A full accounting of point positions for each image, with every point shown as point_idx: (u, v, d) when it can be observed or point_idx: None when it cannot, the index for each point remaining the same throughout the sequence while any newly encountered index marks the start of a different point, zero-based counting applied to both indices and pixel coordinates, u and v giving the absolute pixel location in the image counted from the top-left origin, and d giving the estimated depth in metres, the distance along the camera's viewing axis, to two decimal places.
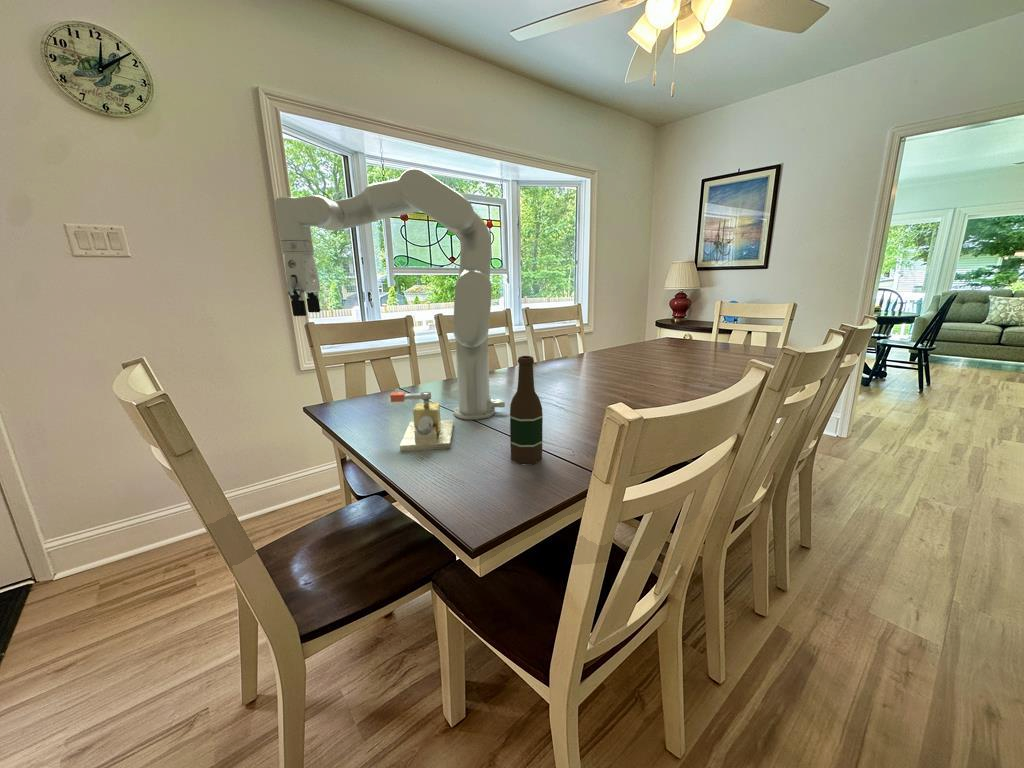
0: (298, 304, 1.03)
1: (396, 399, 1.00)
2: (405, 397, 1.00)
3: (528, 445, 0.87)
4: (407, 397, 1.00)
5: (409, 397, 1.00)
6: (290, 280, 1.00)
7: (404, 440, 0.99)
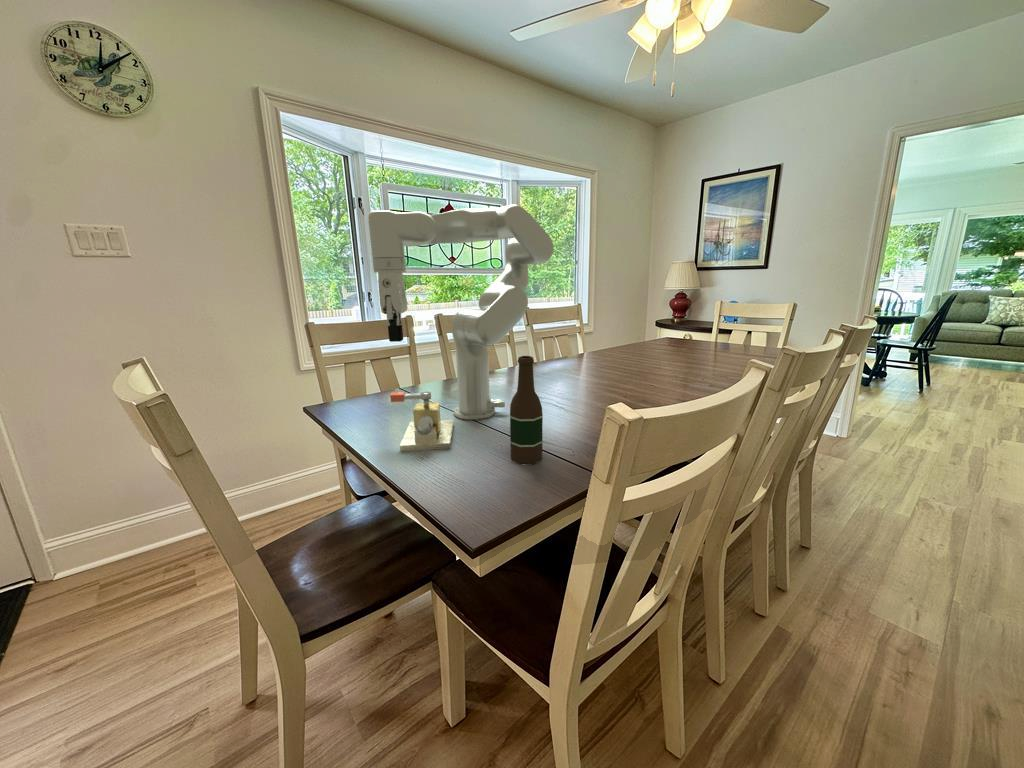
0: (395, 329, 0.99)
1: (396, 399, 1.00)
2: (405, 397, 1.00)
3: (528, 445, 0.87)
4: (407, 397, 1.00)
5: (409, 397, 1.00)
6: (389, 310, 0.94)
7: (404, 440, 0.99)
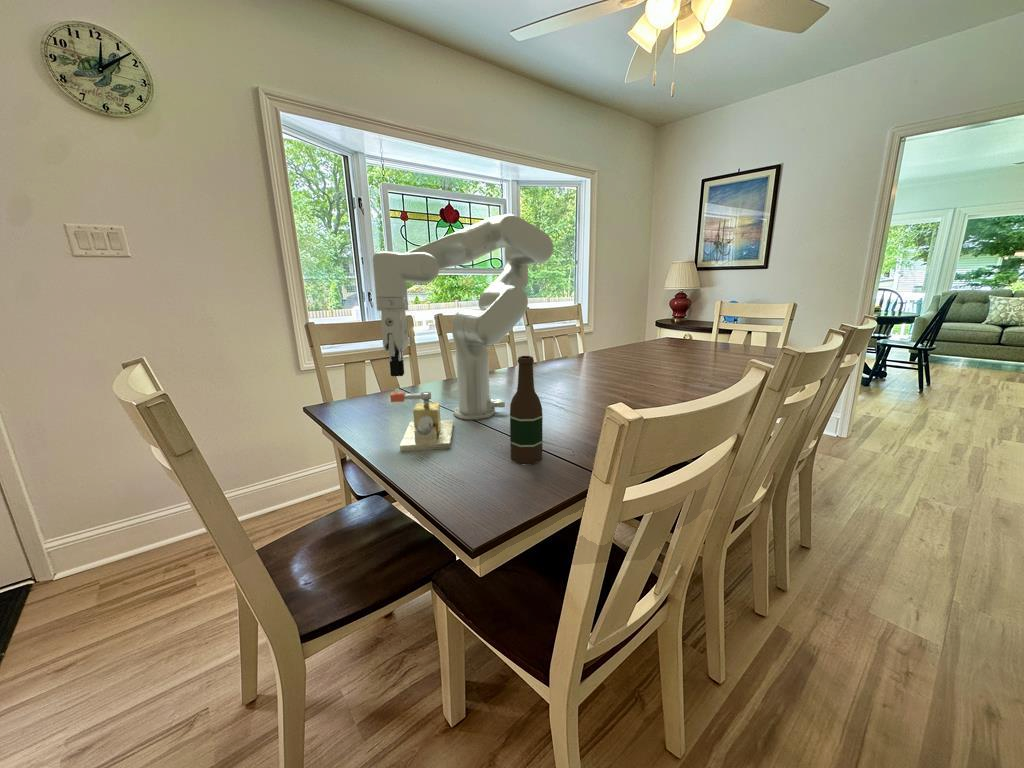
0: (397, 365, 1.01)
1: (396, 399, 1.00)
2: (405, 397, 1.00)
3: (528, 445, 0.87)
4: (407, 397, 1.00)
5: (409, 397, 1.00)
6: (391, 348, 0.97)
7: (404, 440, 0.99)
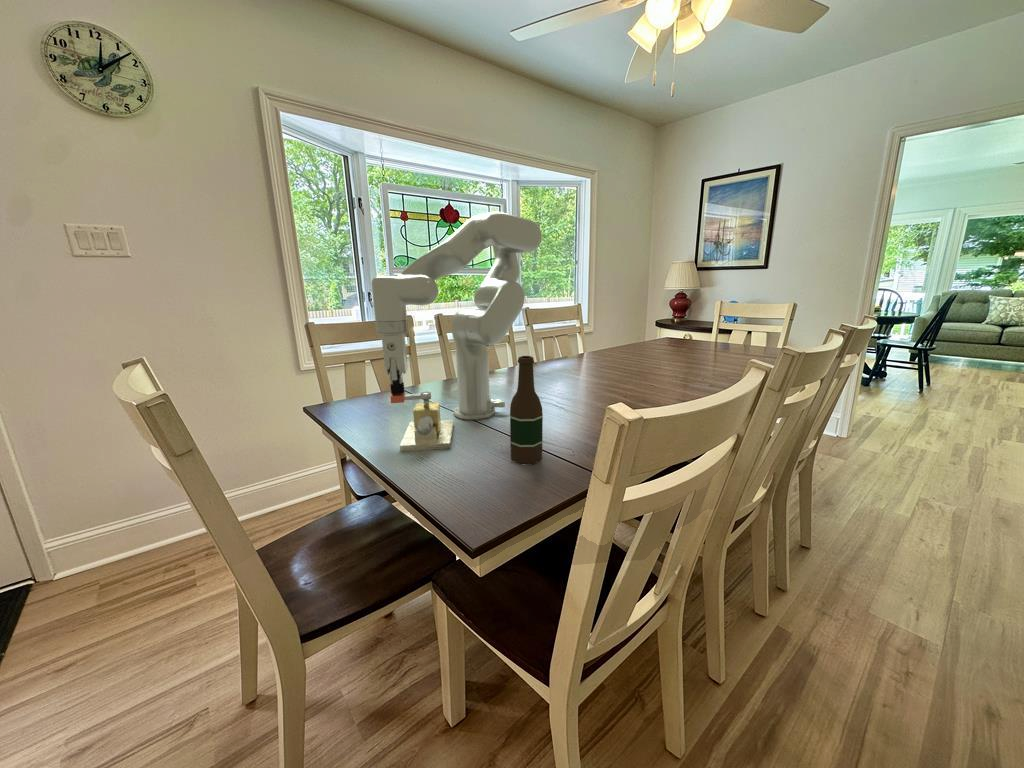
0: (398, 388, 1.01)
1: (396, 400, 0.99)
2: (405, 398, 0.99)
3: (528, 445, 0.87)
4: (407, 398, 1.00)
5: (409, 398, 1.00)
6: (393, 372, 0.96)
7: (404, 440, 0.99)
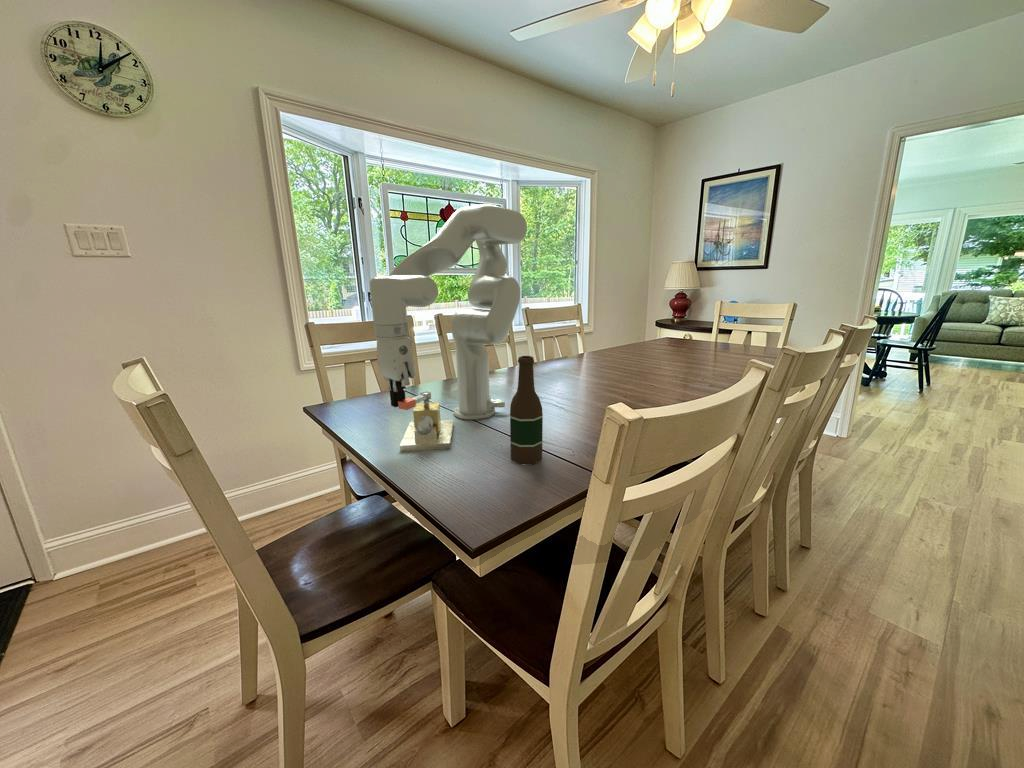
0: (402, 394, 0.96)
1: (410, 405, 0.95)
2: (415, 401, 0.97)
3: (528, 445, 0.87)
4: (416, 401, 0.97)
5: (418, 400, 0.98)
6: (406, 377, 0.92)
7: (404, 440, 0.99)
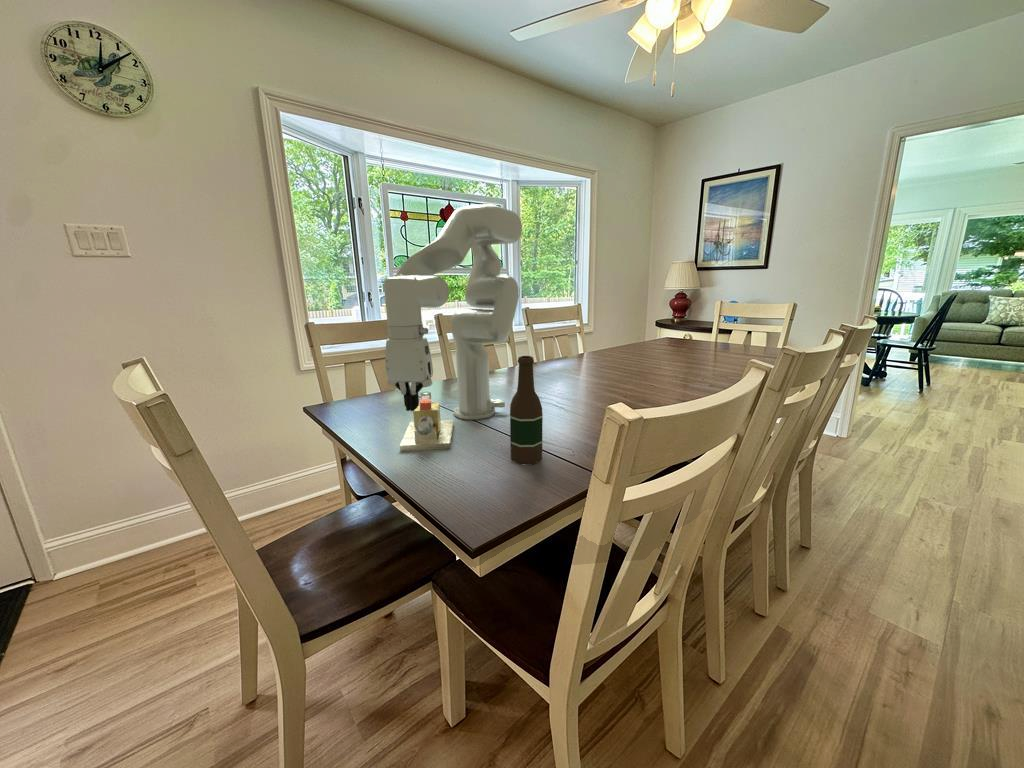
0: (417, 396, 0.94)
1: None
2: None
3: (528, 445, 0.87)
4: None
5: None
6: (429, 377, 0.92)
7: (404, 440, 0.99)
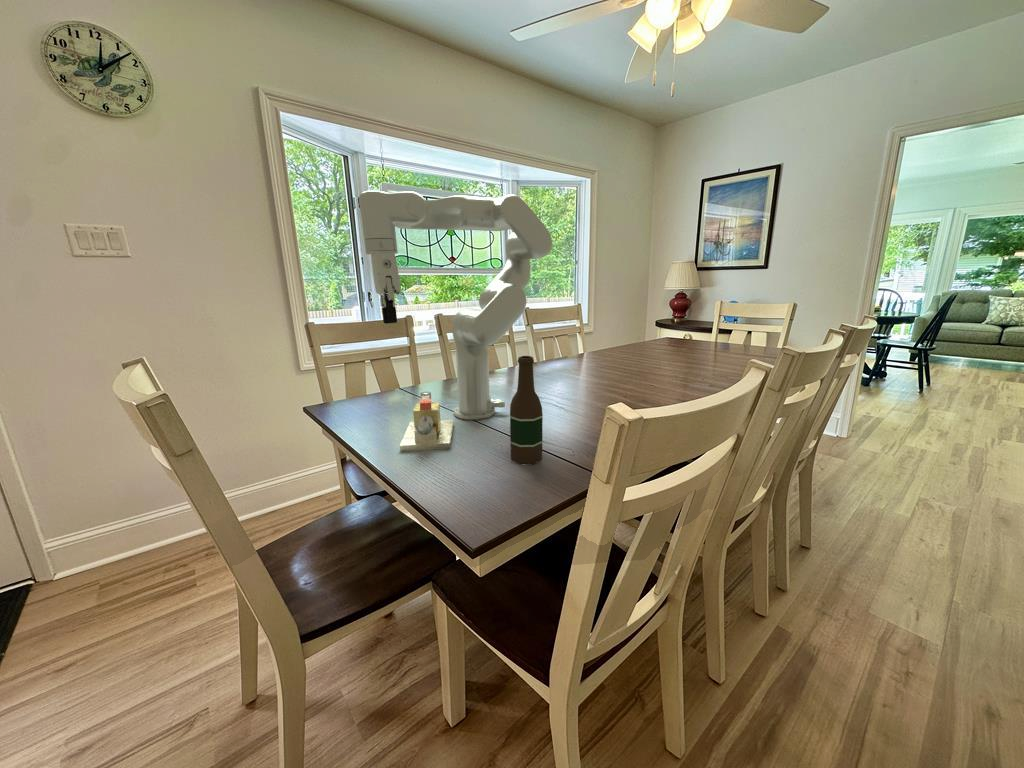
0: (391, 311, 1.00)
1: None
2: None
3: (528, 445, 0.87)
4: None
5: None
6: (389, 291, 0.95)
7: (404, 440, 0.99)
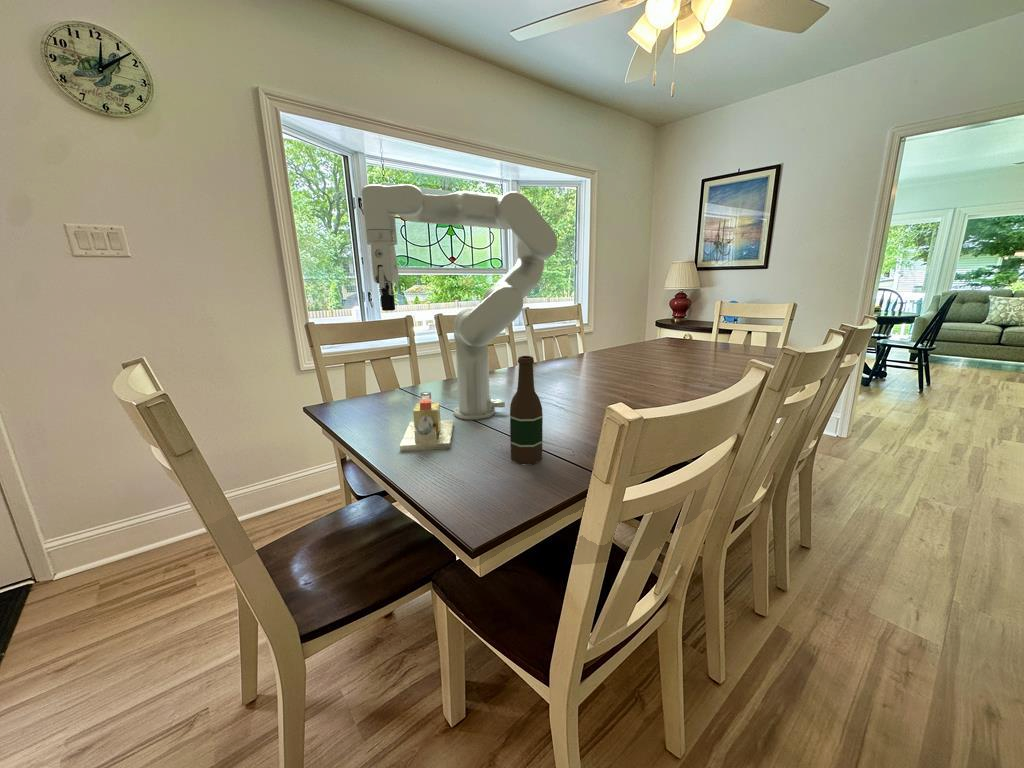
0: (388, 299, 1.05)
1: None
2: None
3: (528, 445, 0.87)
4: None
5: None
6: (381, 279, 1.00)
7: (404, 440, 0.99)
